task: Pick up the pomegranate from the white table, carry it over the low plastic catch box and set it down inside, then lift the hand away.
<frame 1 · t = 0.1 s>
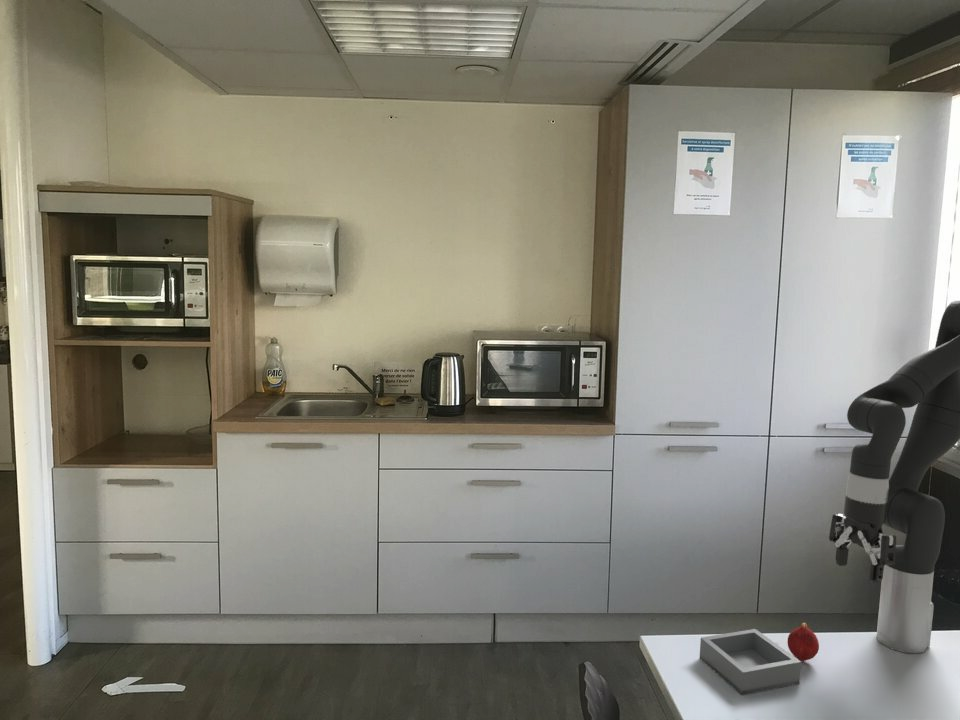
hand: (857, 573, 147), 17 cm above the table, tool pointing down, fingers open, 8 cm apart
catch box: (748, 670, 141), on the table
pomegranate: (801, 662, 145), on the table
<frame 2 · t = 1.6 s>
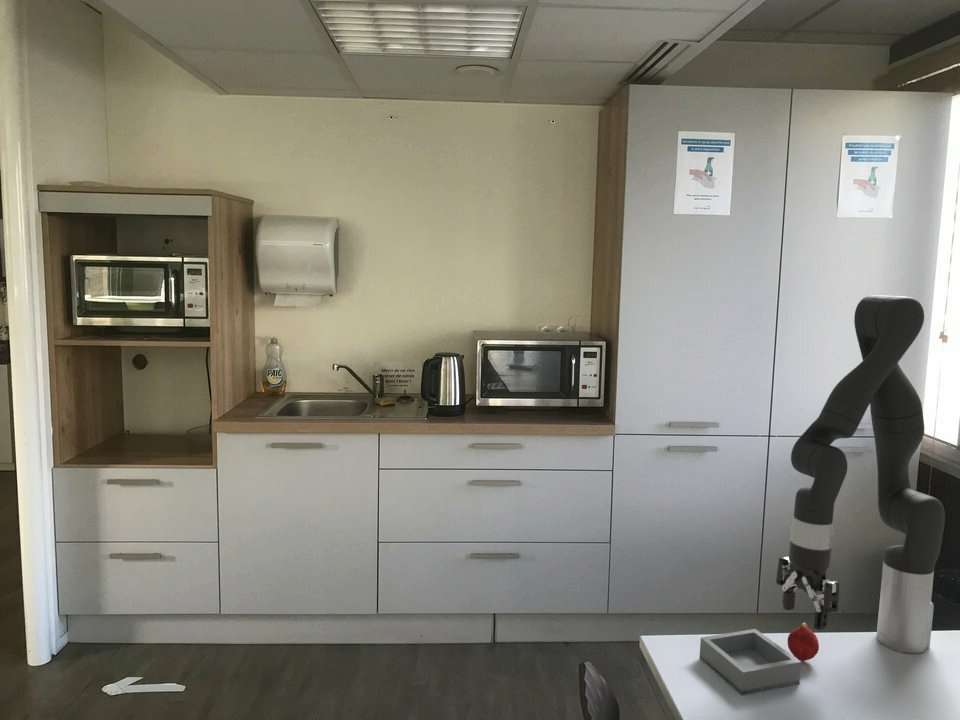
hand: (803, 618, 144), 9 cm above the table, tool pointing down, fingers open, 8 cm apart
nothing on the table moved.
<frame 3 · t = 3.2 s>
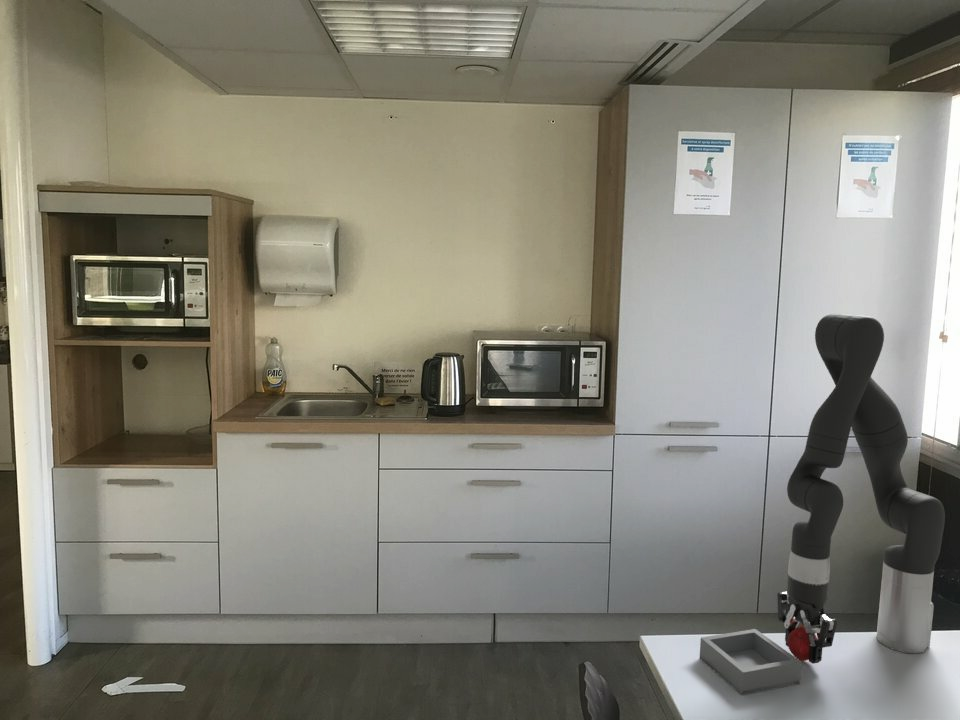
hand: (802, 653, 145), 2 cm above the table, tool pointing down, fingers closed on pomegranate, 6 cm apart
pomegranate: (801, 661, 145), on the table, touching gripper
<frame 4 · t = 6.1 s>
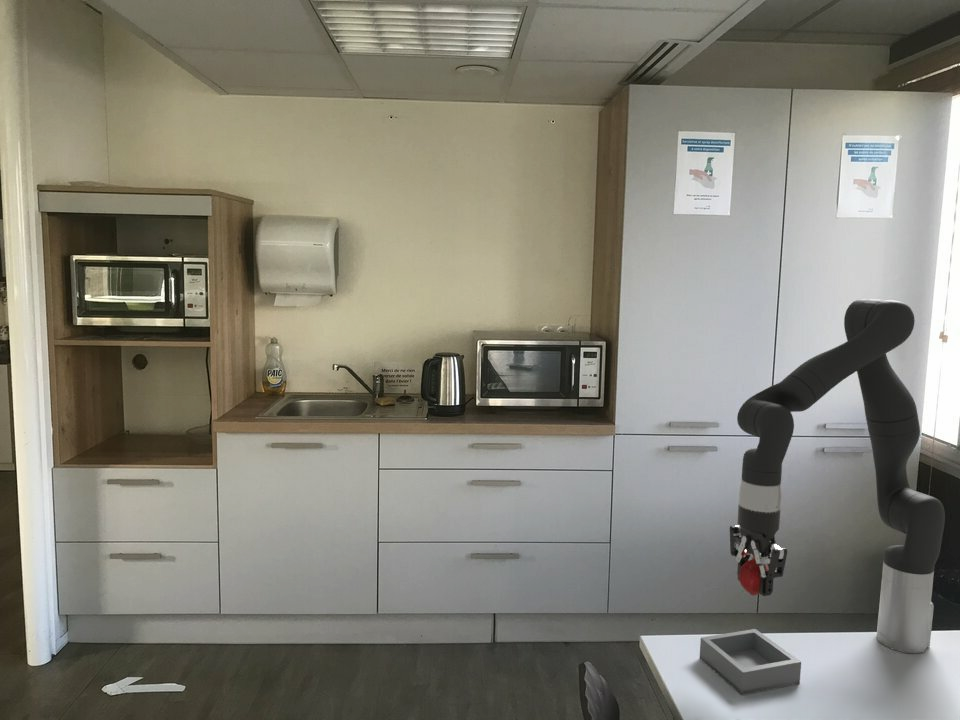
hand: (754, 587, 139), 17 cm above the table, tool pointing down, fingers closed on pomegranate, 6 cm apart
pomegranate: (753, 596, 139), point 15 cm above the table, touching gripper
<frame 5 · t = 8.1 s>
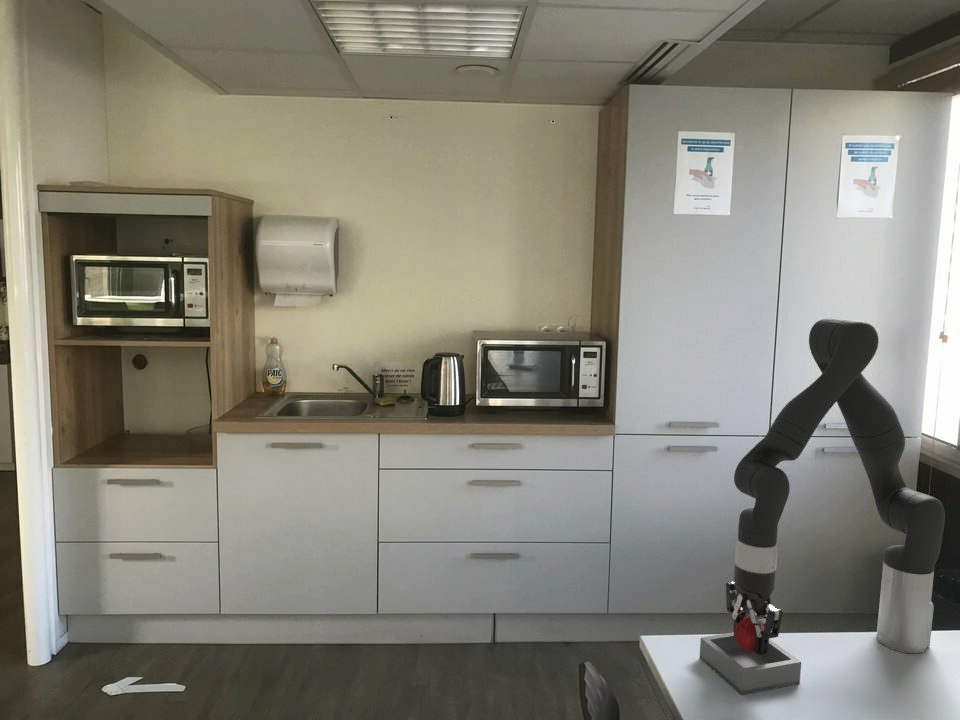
hand: (749, 645, 141), 5 cm above the table, tool pointing down, fingers closed on pomegranate, 6 cm apart
pomegranate: (748, 653, 141), point 4 cm above the table, touching gripper
when the fingers open (4 cm above the table, at t = 9.4 s): pomegranate drops 2 cm, resting on catch box.
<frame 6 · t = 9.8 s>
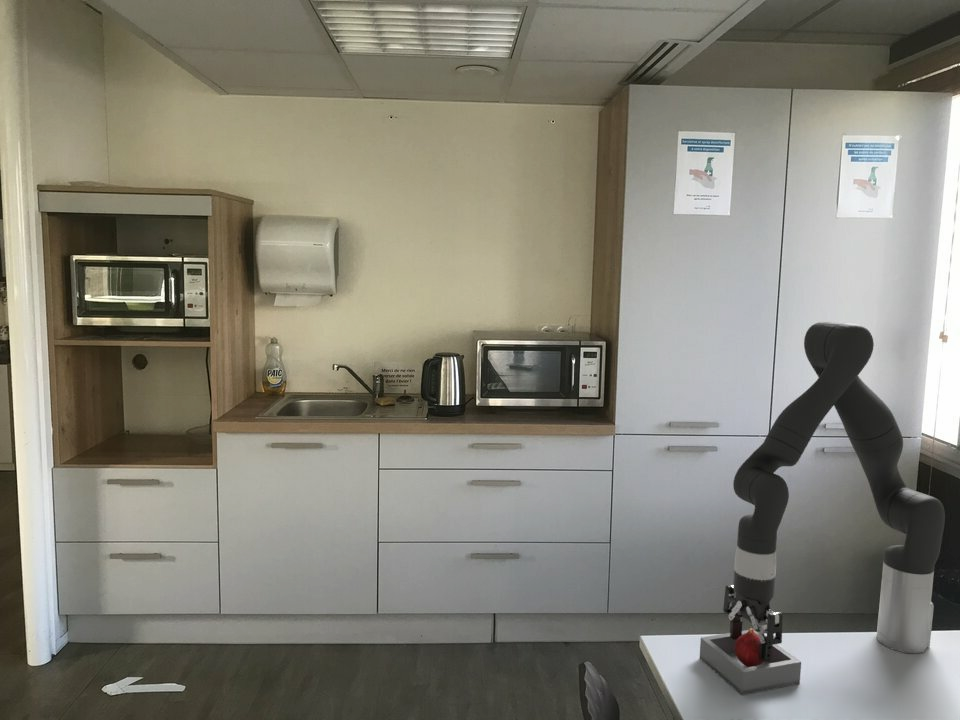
hand: (749, 648, 141), 5 cm above the table, tool pointing down, fingers open, 8 cm apart
pomegranate: (749, 668, 141), point 1 cm above the table, touching catch box
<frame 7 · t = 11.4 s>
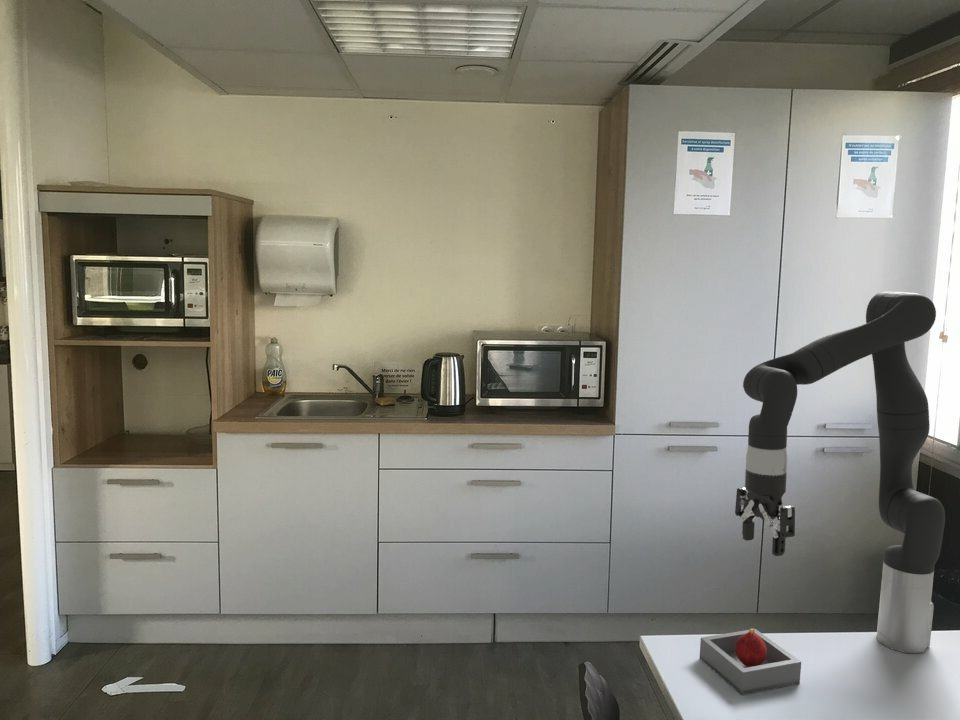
hand: (762, 547, 143), 24 cm above the table, tool pointing down, fingers open, 8 cm apart
nothing on the table moved.
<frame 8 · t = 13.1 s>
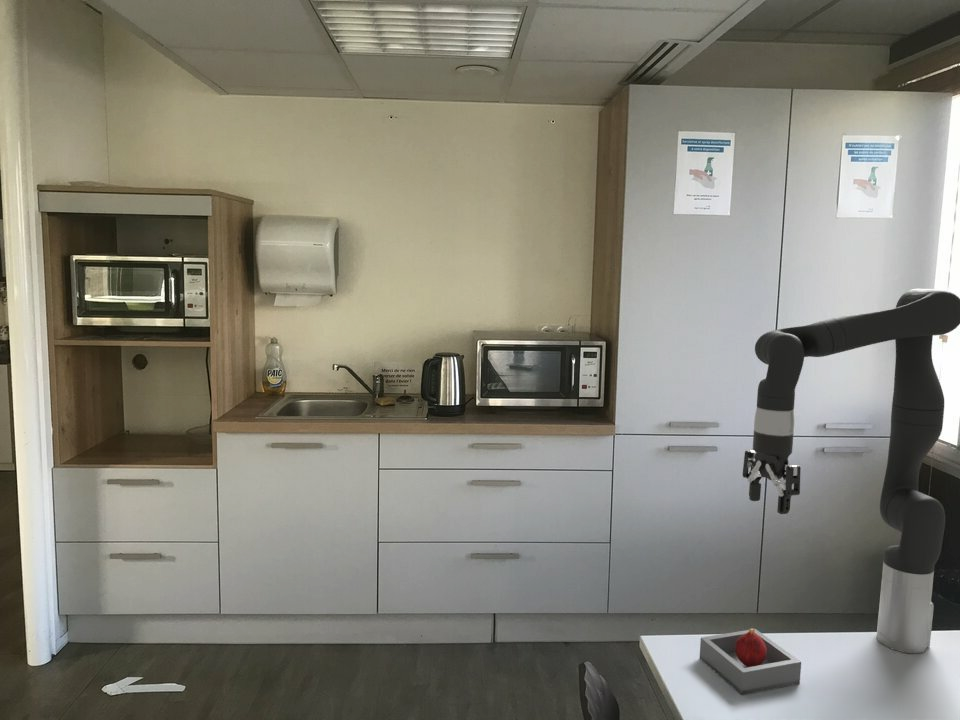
hand: (768, 506, 148), 30 cm above the table, tool pointing down, fingers open, 8 cm apart
nothing on the table moved.
at the end: pomegranate inside the target area on the catch box (0.3 cm from its centre), point 0.6 cm above the catch box's base; the gripper is holding nothing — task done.
